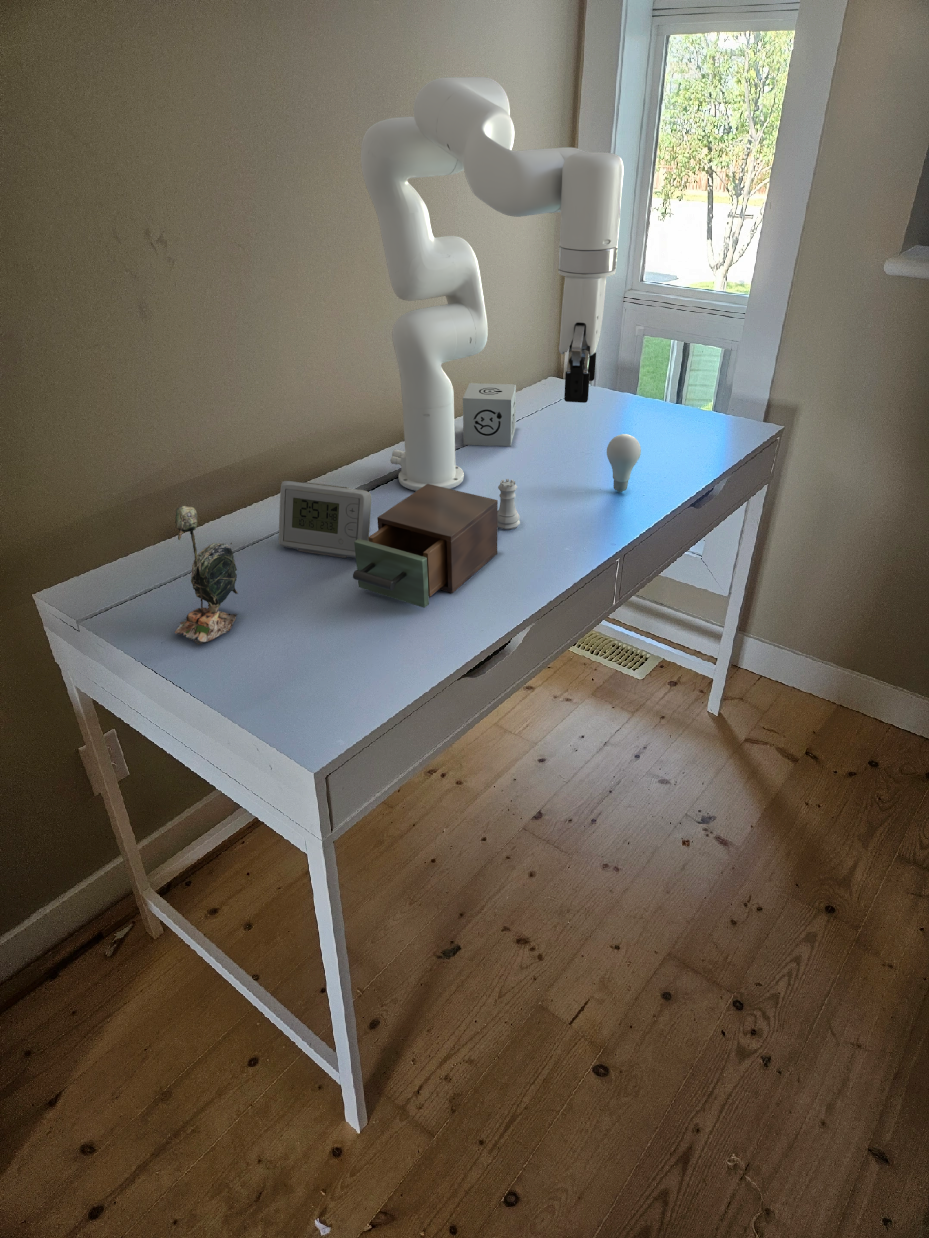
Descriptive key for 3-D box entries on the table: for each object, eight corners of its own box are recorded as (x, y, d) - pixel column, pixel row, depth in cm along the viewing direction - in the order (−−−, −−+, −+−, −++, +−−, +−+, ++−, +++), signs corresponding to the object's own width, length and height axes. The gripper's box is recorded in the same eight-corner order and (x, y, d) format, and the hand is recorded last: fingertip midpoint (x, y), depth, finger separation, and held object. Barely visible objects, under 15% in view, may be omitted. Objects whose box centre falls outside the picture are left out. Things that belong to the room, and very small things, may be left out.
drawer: (408, 622, 117) (405, 574, 112) (341, 600, 122) (335, 554, 118) (470, 569, 129) (469, 524, 125) (406, 551, 134) (404, 507, 130)
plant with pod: (263, 617, 120) (240, 490, 109) (196, 652, 113) (165, 520, 102) (229, 598, 125) (204, 475, 114) (163, 631, 117) (129, 503, 106)
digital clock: (273, 548, 138) (264, 489, 132) (307, 526, 144) (300, 469, 138) (353, 570, 131) (346, 509, 125) (385, 546, 137) (380, 487, 132)
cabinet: (452, 593, 125) (450, 536, 119) (381, 572, 130) (377, 517, 125) (497, 553, 135) (497, 500, 130) (429, 535, 140) (427, 483, 135)
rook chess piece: (518, 531, 141) (518, 488, 137) (492, 529, 142) (492, 486, 138) (521, 520, 145) (522, 477, 141) (496, 518, 146) (496, 475, 141)
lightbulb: (614, 482, 158) (619, 426, 152) (642, 490, 154) (648, 434, 148) (597, 493, 154) (601, 436, 148) (626, 501, 150) (631, 444, 144)
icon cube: (515, 429, 182) (515, 384, 176) (510, 446, 174) (511, 399, 168) (470, 427, 183) (469, 383, 178) (463, 444, 175) (462, 398, 169)
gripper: (566, 249, 116) (561, 371, 125) (549, 273, 102) (544, 409, 111) (620, 250, 114) (611, 373, 124) (611, 275, 100) (601, 412, 110)
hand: (579, 390), depth 117 cm, fingers open, 9 cm apart
